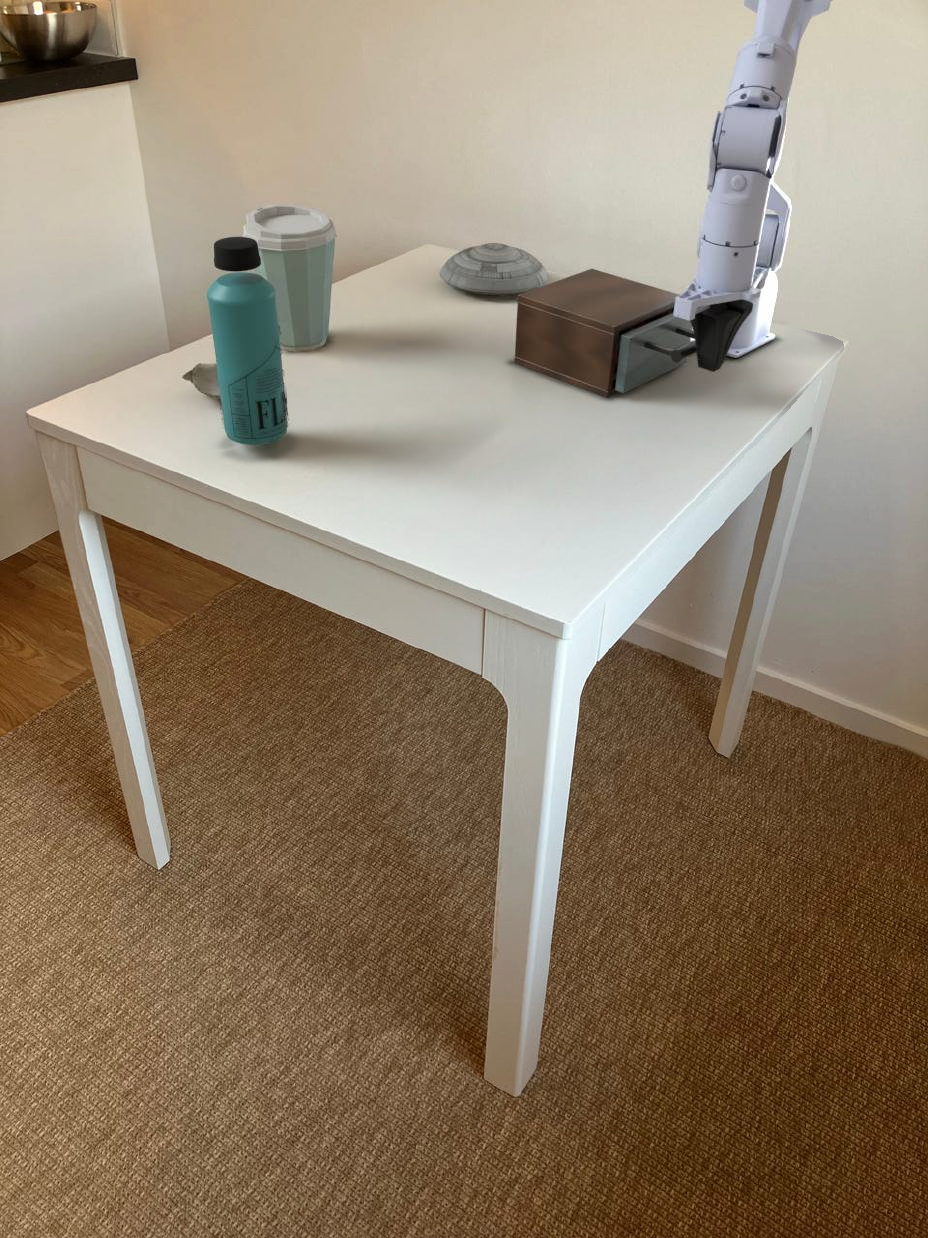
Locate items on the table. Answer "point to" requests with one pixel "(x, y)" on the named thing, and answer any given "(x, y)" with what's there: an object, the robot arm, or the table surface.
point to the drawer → (653, 350)
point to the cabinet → (583, 326)
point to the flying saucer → (494, 270)
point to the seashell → (204, 379)
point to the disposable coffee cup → (296, 269)
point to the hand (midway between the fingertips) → (709, 367)
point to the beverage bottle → (247, 346)
